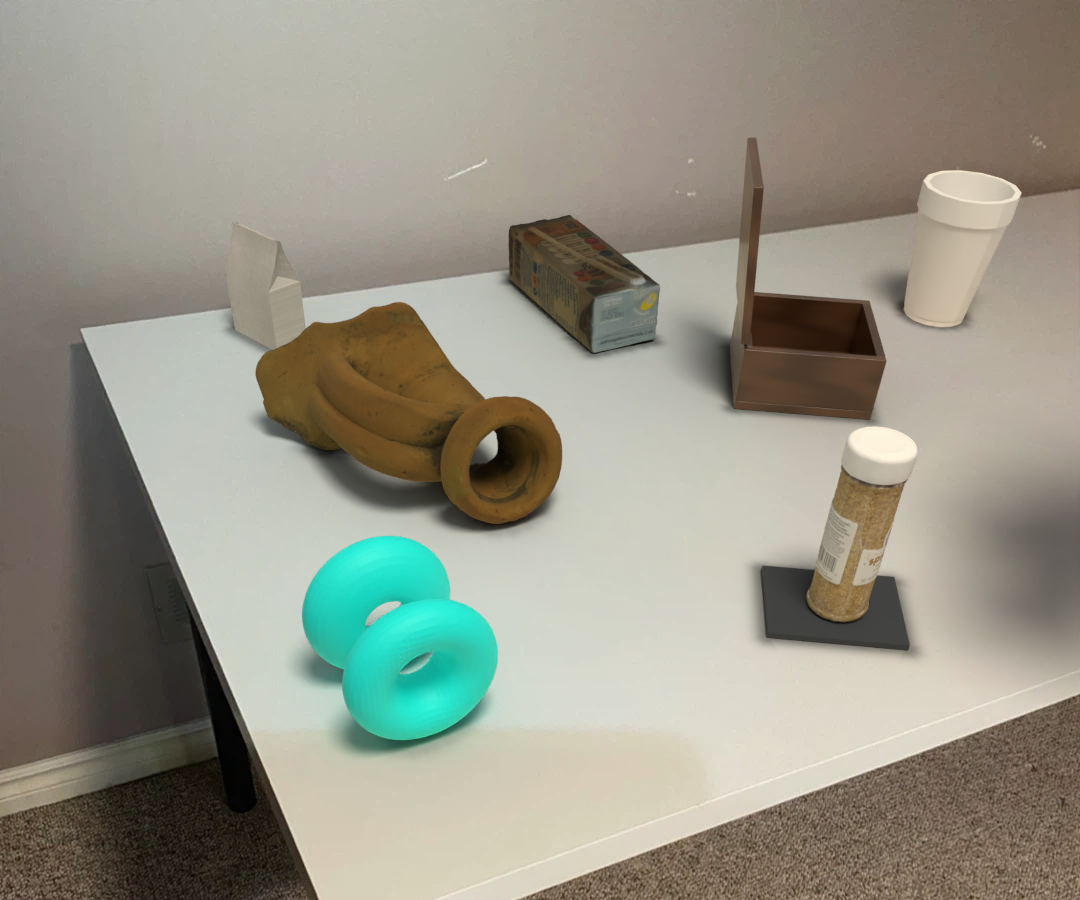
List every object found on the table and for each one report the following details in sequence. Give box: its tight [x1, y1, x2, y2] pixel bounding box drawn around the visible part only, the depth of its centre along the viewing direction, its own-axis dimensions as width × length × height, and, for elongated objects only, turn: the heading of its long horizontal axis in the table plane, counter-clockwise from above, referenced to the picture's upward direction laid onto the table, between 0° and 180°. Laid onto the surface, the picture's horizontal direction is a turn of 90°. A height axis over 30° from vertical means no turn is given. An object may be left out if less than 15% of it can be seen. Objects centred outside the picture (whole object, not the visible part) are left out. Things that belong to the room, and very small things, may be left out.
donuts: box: [301, 535, 499, 741], centre depth 67 cm, size 10×10×10 cm
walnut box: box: [729, 291, 888, 421], centre depth 102 cm, size 13×13×6 cm
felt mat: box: [760, 564, 911, 651], centre depth 79 cm, size 10×8×1 cm
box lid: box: [735, 137, 765, 344], centre depth 95 cm, size 13×13×1 cm
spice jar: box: [806, 425, 919, 622], centre depth 74 cm, size 5×5×14 cm
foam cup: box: [903, 169, 1022, 328], centre depth 111 cm, size 10×9×13 cm
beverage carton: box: [508, 214, 661, 354], centre depth 111 cm, size 8×19×7 cm, turn 27°
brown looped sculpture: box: [254, 301, 563, 525], centre depth 86 cm, size 18×13×22 cm
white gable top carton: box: [224, 221, 307, 351], centre depth 103 cm, size 4×7×10 cm, turn 48°
